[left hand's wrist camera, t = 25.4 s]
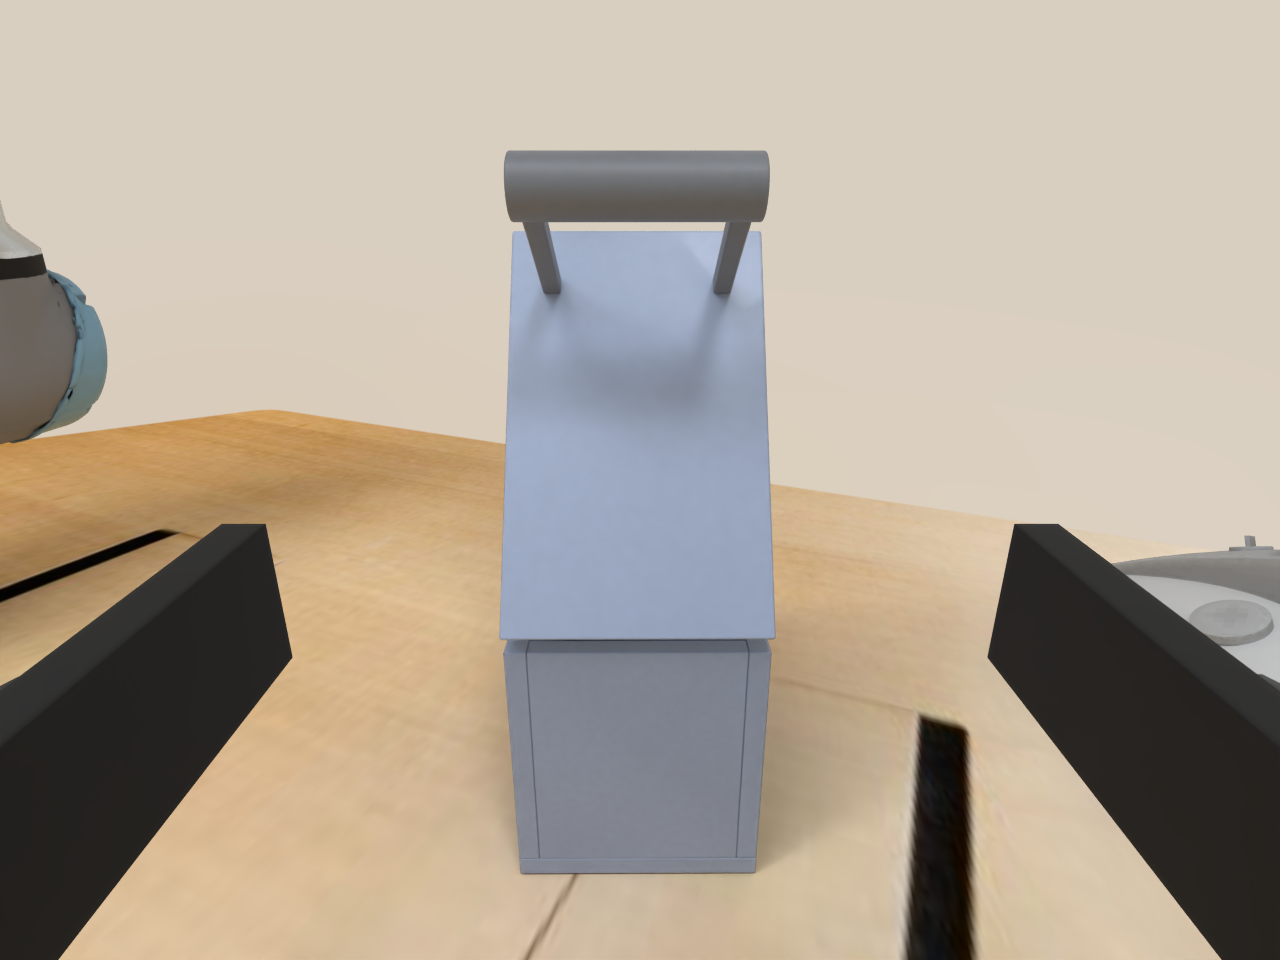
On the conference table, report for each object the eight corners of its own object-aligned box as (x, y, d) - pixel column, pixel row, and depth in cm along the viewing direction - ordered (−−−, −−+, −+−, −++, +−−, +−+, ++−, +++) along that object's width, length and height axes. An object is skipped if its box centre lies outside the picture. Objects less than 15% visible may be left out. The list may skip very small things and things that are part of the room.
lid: (516, 244, 30) (467, 93, 21) (756, 244, 30) (806, 93, 21) (504, 638, 27) (441, 652, 18) (770, 638, 27) (833, 651, 18)
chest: (557, 661, 45) (550, 497, 41) (717, 660, 45) (724, 497, 41) (520, 874, 31) (502, 653, 27) (755, 873, 31) (772, 652, 27)
